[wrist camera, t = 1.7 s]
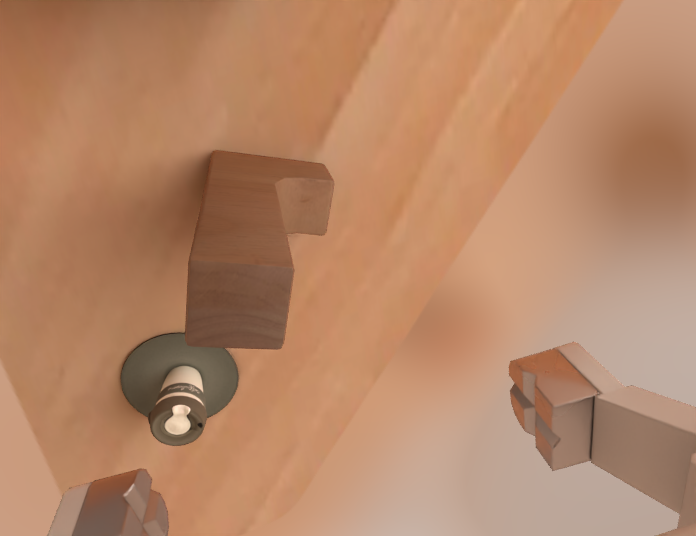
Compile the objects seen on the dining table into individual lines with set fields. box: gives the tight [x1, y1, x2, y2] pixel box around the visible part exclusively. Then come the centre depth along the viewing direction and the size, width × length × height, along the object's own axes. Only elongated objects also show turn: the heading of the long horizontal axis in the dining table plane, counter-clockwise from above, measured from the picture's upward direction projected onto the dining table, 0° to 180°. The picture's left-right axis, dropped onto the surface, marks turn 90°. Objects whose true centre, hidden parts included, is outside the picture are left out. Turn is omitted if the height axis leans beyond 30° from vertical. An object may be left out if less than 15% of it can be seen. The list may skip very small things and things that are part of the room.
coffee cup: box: [121, 333, 238, 446], centre depth 32 cm, size 12×12×5 cm
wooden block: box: [185, 150, 334, 349], centre depth 23 cm, size 7×3×15 cm, turn 80°
